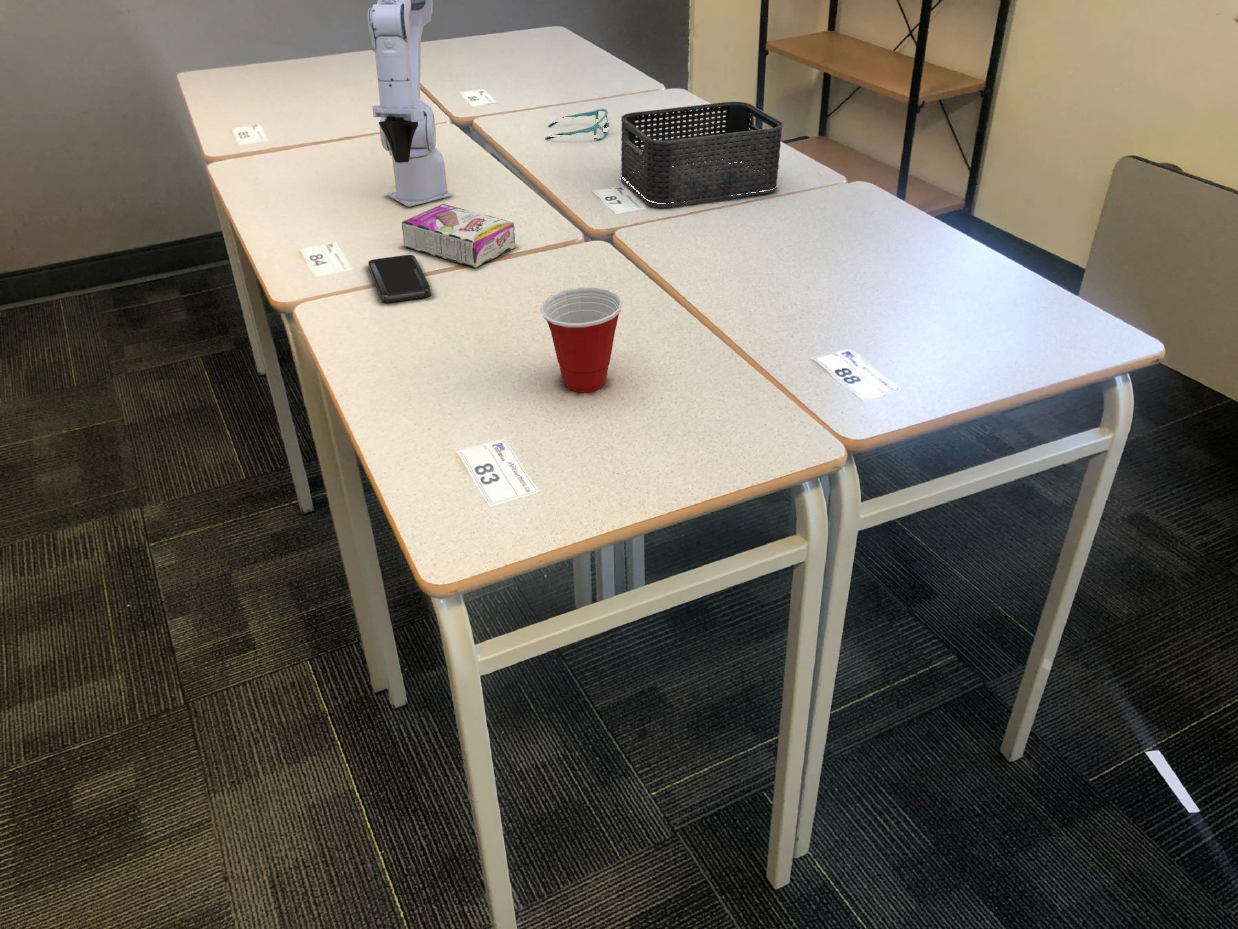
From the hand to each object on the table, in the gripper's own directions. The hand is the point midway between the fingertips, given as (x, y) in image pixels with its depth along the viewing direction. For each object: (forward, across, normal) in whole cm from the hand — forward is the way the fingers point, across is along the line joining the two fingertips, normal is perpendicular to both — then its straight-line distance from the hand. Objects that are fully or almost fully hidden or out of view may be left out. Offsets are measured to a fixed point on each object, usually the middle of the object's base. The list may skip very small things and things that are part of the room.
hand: (402, 162), depth 171 cm
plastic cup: (+23, +64, -11) cm, 69 cm away
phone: (+16, +20, -14) cm, 29 cm away
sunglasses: (0, -23, +59) cm, 63 cm away
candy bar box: (+10, +8, -1) cm, 12 cm away
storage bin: (+8, +20, +56) cm, 60 cm away
